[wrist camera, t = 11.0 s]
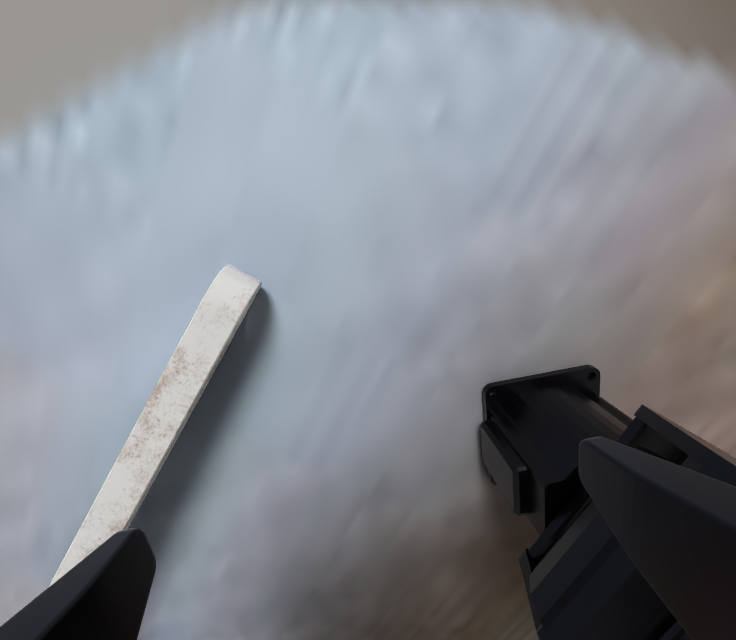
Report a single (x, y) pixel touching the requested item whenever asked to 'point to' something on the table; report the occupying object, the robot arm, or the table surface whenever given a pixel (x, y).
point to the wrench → (165, 412)
